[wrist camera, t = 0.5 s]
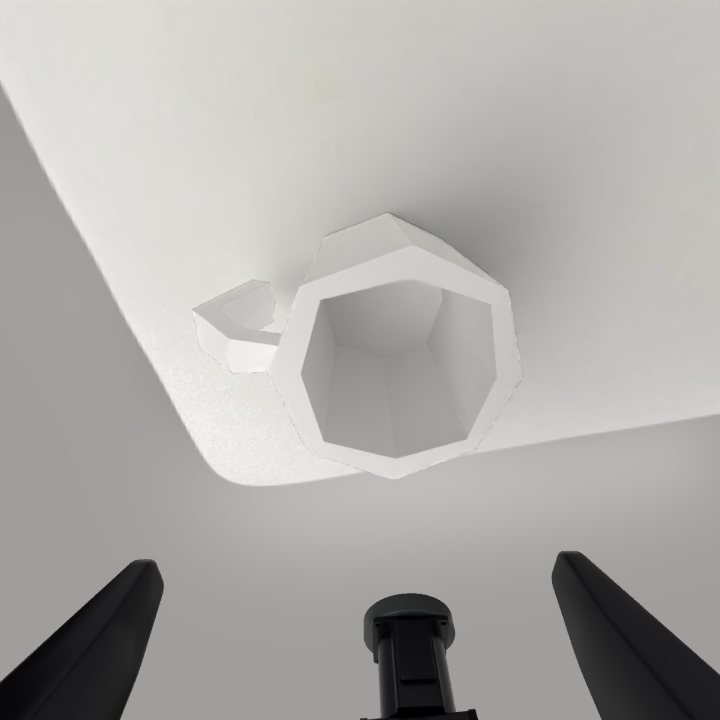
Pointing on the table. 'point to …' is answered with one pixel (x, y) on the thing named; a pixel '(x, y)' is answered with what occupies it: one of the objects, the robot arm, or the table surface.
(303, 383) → the mug
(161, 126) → the table surface
